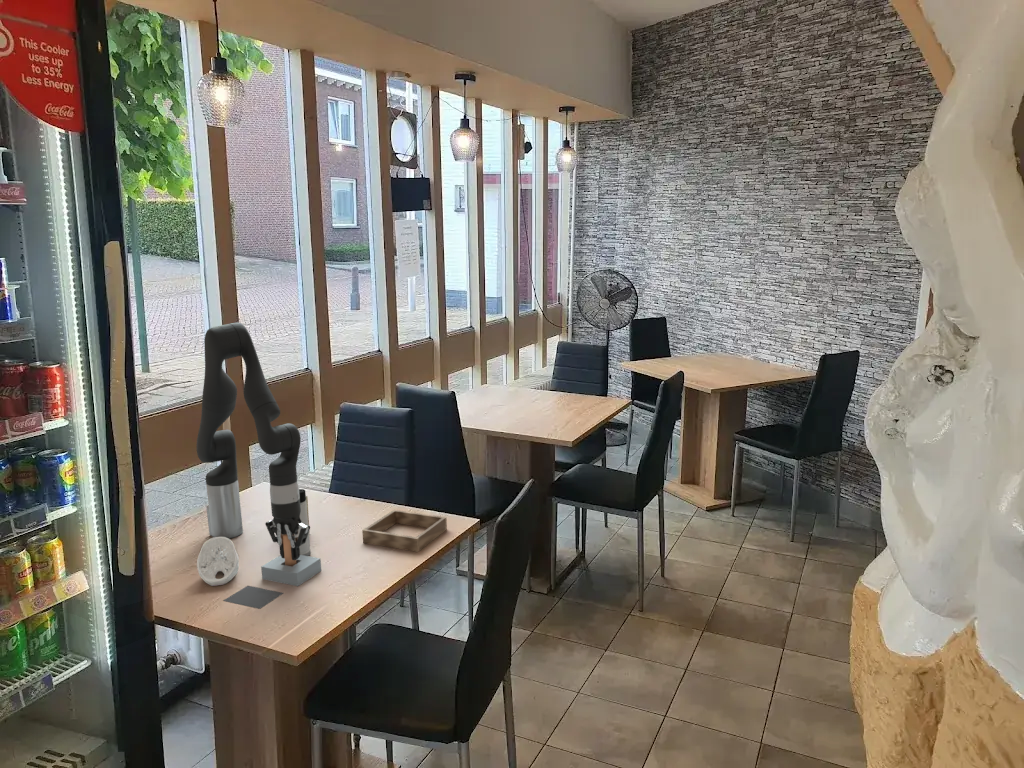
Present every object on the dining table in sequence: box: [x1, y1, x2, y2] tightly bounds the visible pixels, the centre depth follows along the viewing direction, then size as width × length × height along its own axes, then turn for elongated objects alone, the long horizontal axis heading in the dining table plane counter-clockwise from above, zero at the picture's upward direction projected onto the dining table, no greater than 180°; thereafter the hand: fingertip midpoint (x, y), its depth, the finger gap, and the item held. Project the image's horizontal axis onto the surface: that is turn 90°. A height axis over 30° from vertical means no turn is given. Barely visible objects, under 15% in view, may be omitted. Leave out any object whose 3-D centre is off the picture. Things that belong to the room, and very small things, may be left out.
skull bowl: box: [196, 537, 240, 587], centre depth 210 cm, size 10×14×12 cm
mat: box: [222, 585, 284, 610], centre depth 198 cm, size 12×9×1 cm
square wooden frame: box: [361, 509, 448, 553], centre depth 235 cm, size 19×18×4 cm
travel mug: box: [295, 488, 312, 556], centre depth 222 cm, size 6×7×20 cm
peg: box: [283, 534, 297, 566], centre depth 209 cm, size 3×3×10 cm
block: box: [260, 555, 322, 587], centre depth 210 cm, size 12×10×4 cm
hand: (290, 557), depth 209 cm, fingers closed on peg, 3 cm apart
